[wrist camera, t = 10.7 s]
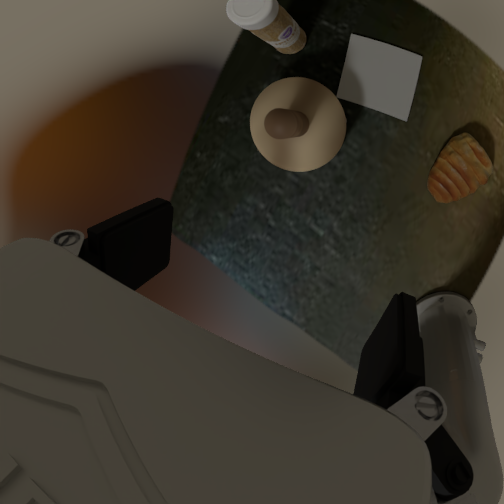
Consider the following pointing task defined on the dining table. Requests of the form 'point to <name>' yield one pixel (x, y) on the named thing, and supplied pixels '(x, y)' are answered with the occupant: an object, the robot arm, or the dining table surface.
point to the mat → (379, 76)
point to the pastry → (459, 169)
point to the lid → (297, 124)
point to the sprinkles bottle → (268, 23)
